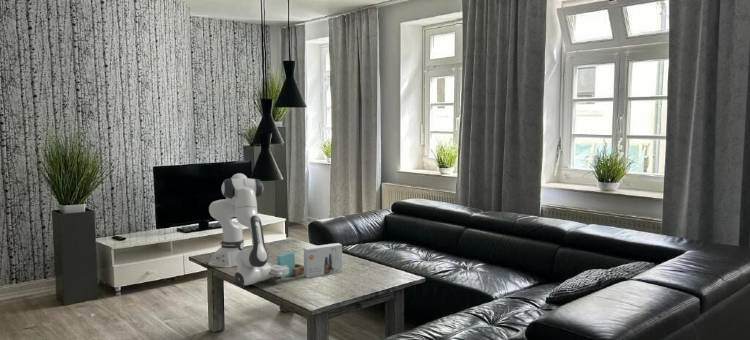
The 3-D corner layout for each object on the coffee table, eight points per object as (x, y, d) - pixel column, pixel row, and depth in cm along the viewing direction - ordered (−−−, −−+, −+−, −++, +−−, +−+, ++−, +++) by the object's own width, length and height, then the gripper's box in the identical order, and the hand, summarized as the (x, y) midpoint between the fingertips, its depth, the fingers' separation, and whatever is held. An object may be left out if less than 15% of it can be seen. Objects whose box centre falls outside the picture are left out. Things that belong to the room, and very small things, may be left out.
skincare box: (307, 278, 311) (306, 249, 309) (303, 276, 315) (302, 247, 314) (343, 272, 320) (342, 244, 319) (339, 270, 325) (338, 242, 323)
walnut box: (296, 276, 314) (296, 269, 314) (283, 273, 321) (283, 266, 321) (307, 273, 320) (307, 266, 320) (294, 270, 327) (293, 263, 327)
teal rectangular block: (281, 278, 311) (280, 256, 310) (278, 277, 313) (277, 256, 312) (295, 274, 319) (294, 252, 318) (292, 273, 321) (291, 252, 319)
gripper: (276, 268, 297) (296, 263, 307) (251, 262, 310) (271, 257, 320) (276, 280, 297) (297, 274, 308) (252, 274, 310) (272, 268, 321)
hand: (283, 265), depth 314 cm, fingers closed on teal rectangular block, 2 cm apart
